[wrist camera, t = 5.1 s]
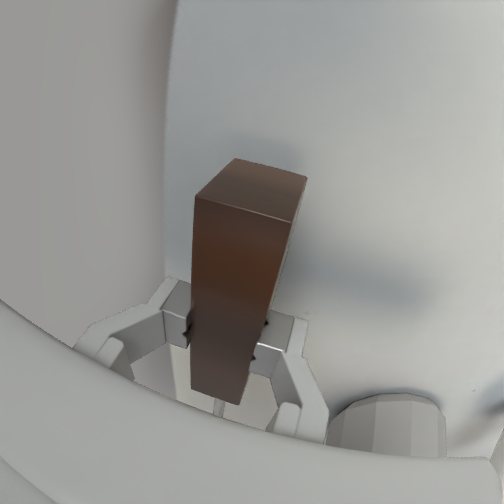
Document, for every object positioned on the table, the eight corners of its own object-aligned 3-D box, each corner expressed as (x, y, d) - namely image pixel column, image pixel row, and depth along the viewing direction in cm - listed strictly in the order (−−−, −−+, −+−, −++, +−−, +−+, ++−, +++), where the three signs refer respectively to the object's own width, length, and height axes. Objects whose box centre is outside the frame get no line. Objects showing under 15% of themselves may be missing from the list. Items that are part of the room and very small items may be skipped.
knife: (234, 157, 9) (194, 195, 7) (308, 176, 9) (292, 222, 7) (206, 415, 22) (193, 445, 20) (233, 425, 22) (222, 456, 20)
